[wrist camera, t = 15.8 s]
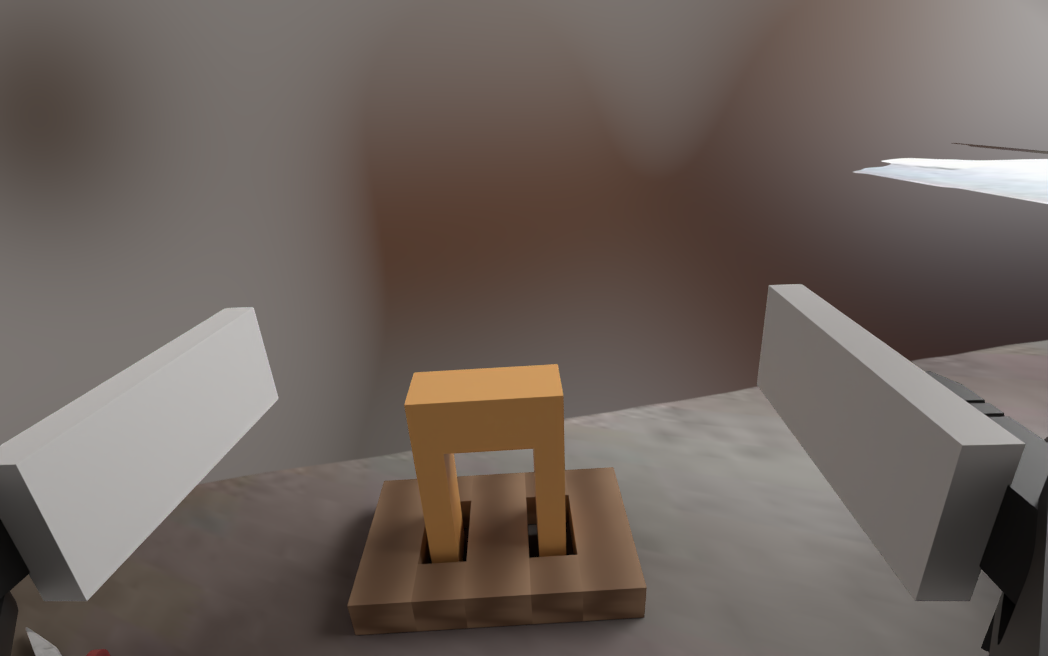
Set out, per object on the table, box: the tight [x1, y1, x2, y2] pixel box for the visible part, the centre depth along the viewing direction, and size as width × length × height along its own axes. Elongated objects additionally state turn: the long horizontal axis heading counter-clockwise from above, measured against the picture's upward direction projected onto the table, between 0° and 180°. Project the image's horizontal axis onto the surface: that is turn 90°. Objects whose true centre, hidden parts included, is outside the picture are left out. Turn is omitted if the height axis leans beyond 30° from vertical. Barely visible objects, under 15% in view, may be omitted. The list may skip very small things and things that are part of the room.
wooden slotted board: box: [347, 467, 646, 635], centre depth 41 cm, size 20×12×3 cm, turn 92°
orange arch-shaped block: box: [404, 364, 566, 564], centre depth 38 cm, size 10×4×16 cm, turn 92°
